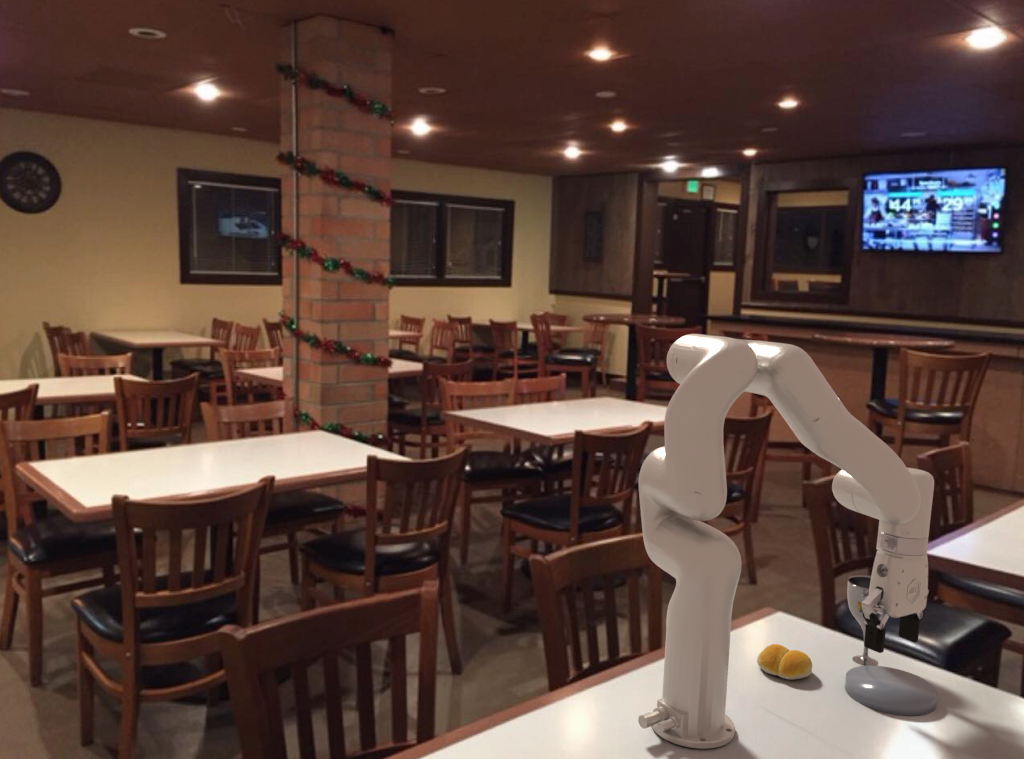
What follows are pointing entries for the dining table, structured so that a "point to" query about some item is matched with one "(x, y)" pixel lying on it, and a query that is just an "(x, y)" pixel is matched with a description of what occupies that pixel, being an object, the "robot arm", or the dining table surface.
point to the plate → (891, 690)
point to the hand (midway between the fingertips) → (891, 644)
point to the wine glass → (860, 611)
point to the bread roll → (784, 662)
